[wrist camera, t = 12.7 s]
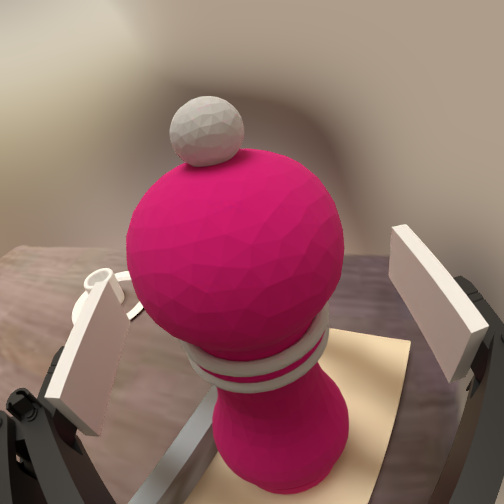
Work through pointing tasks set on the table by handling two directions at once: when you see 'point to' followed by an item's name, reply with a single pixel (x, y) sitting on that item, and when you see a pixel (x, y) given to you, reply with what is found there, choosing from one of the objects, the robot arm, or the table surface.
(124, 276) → the candle holder
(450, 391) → the table surface
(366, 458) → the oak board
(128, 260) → the pepper mill
